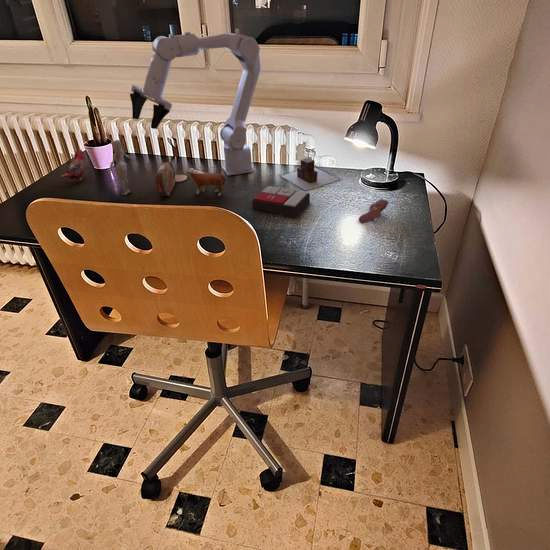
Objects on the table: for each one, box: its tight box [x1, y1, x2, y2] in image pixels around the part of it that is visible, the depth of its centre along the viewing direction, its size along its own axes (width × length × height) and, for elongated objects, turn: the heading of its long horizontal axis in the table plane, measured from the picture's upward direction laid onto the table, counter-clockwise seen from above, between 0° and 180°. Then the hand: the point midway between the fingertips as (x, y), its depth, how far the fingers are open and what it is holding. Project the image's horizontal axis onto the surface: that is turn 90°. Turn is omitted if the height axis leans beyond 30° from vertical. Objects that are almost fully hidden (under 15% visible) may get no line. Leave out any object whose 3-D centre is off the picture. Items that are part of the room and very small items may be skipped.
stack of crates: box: [280, 157, 340, 191], centre depth 147 cm, size 15×15×7 cm
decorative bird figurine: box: [59, 148, 86, 184], centre depth 145 cm, size 3×18×10 cm, turn 174°
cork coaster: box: [175, 174, 188, 183], centre depth 150 cm, size 6×6×1 cm
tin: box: [154, 161, 176, 197], centre depth 140 cm, size 15×3×8 cm, turn 179°
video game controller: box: [358, 198, 389, 224], centre depth 123 cm, size 10×5×7 cm, turn 148°
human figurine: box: [107, 139, 136, 196], centre depth 135 cm, size 12×4×18 cm, turn 155°
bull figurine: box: [186, 167, 226, 197], centre depth 138 cm, size 4×13×8 cm, turn 73°
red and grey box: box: [251, 185, 311, 219], centre depth 131 cm, size 11×4×15 cm
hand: (144, 123), depth 132 cm, fingers open, 7 cm apart
